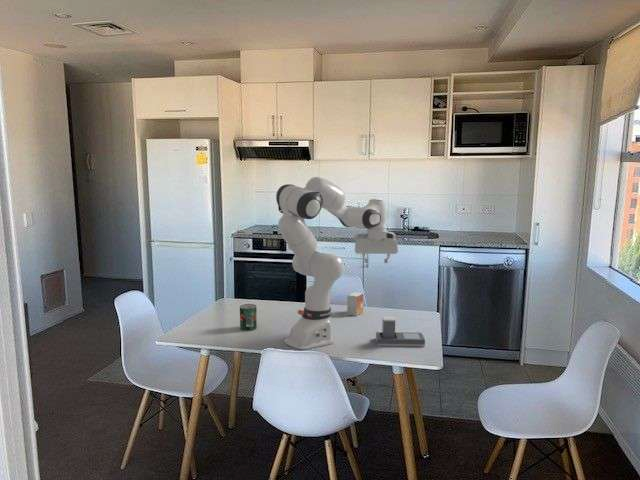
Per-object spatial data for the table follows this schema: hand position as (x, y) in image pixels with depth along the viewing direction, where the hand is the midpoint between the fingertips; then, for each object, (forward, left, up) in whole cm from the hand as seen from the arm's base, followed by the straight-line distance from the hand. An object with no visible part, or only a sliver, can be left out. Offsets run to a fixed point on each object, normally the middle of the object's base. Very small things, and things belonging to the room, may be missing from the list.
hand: (375, 262), depth 231 cm
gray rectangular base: (-10, -23, -31) cm, 40 cm away
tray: (-5, -13, -31) cm, 34 cm away
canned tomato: (-47, +38, -31) cm, 68 cm away
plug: (-14, -19, -30) cm, 38 cm away
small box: (+8, +20, -31) cm, 38 cm away
